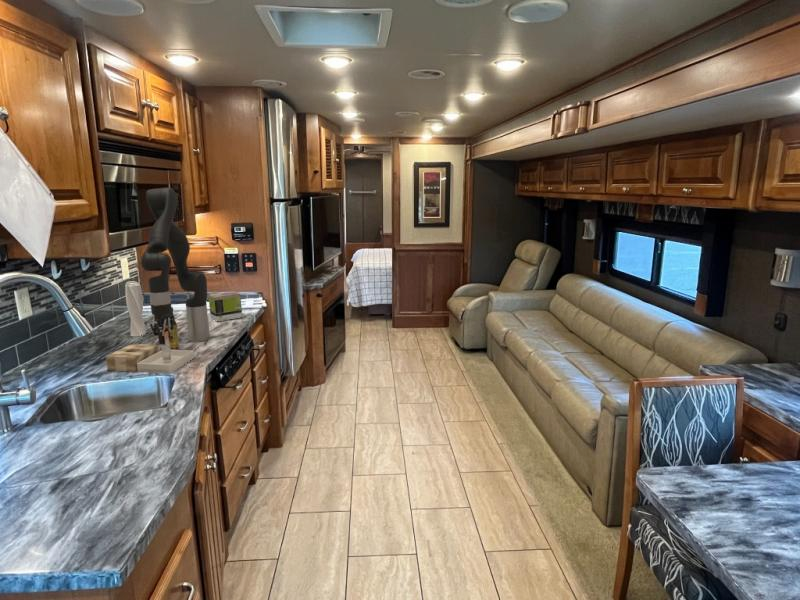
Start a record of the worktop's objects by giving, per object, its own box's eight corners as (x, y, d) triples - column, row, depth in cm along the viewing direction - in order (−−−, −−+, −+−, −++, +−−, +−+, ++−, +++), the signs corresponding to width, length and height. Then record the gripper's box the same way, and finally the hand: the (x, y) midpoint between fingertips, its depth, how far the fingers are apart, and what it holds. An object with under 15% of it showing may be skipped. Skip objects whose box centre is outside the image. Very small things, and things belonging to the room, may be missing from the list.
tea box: (236, 315, 279) (234, 290, 276) (242, 318, 272) (241, 293, 269) (210, 319, 270) (208, 293, 267) (216, 322, 263) (214, 296, 259)
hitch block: (133, 357, 207) (131, 343, 206) (159, 358, 206) (157, 345, 204) (107, 370, 192) (105, 356, 190) (135, 371, 190) (133, 357, 189)
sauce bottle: (173, 352, 213) (168, 309, 208) (160, 351, 214) (156, 309, 210) (182, 348, 219) (178, 306, 215) (170, 347, 220) (166, 305, 216)
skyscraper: (141, 337, 235) (135, 281, 229) (126, 337, 235) (119, 281, 229) (150, 332, 243) (143, 279, 237) (135, 332, 243) (129, 278, 237)
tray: (164, 356, 208) (163, 349, 207) (194, 358, 206) (193, 350, 205) (137, 371, 190) (136, 363, 189) (170, 373, 189) (169, 365, 188)
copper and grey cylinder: (165, 357, 199) (162, 330, 197) (172, 357, 199) (169, 330, 196) (160, 360, 196) (157, 332, 194) (168, 360, 196) (165, 332, 193)
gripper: (162, 298, 200) (166, 337, 203) (141, 305, 186) (145, 347, 190) (179, 298, 199) (183, 338, 203) (159, 306, 185) (163, 348, 189)
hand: (165, 342), depth 196 cm, fingers closed on copper and grey cylinder, 3 cm apart
